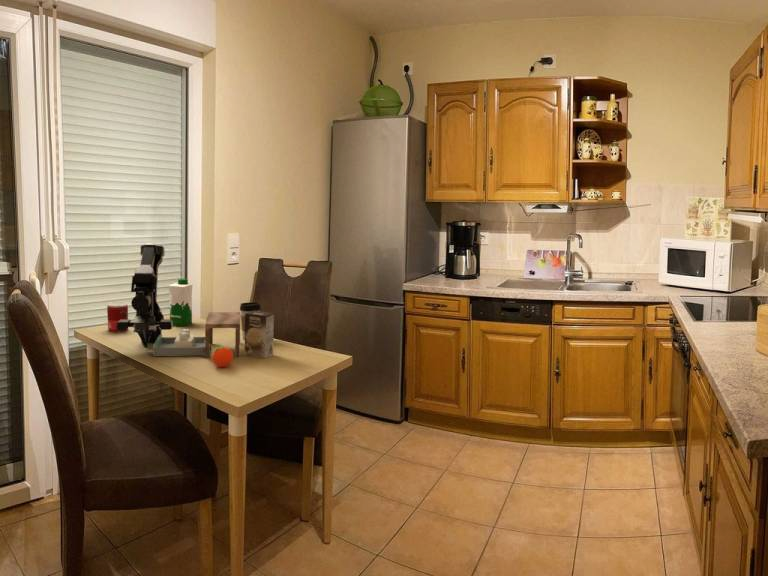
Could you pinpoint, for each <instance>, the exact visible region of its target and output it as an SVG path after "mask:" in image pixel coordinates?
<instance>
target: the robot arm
mask: <svg viewBox="0 0 768 576" xmlns="http://www.w3.org/2000/svg"><path fill="white" fill-rule="evenodd" d="M165 252H166V251H165V247H164V246H163V245H162V244H155V243H143V244H142V245H140V256H141V261H140V265H139V267H137V268H136V269H135V270H134V274H132V278H131V288H130V293H135V296H134V297H133V298H132V300H131V307H132V309H134V310H135V311H136V312H135V317H134V320H133V321H131V319H130V318H128V319H125V320H119V321H118V322H117V323H116V330H126V329H127V328H128V329H129V328H133V332H134V333H137V335H138V337H139V338H140V340H141V344H142V345H143V348H148V345H149V344H151V343H152V344H154V343H155V341H156V340H157V338H158V336H159V335H162V336H163V333H162V332H163V331H166V330H167V331H170V330H172V329H173V327H174V325H173V321H172V320H171V319H170V318H165V317H164V314H163V312H162V309H161V307H160V305H159V304H158V302H157V301H158V282H159V281H158V279H159V277H158V276H159V266H161V264H162V262H163V259H164V258H163V257H165V255H166V253H165ZM126 331H127V330H126Z"/></svg>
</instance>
